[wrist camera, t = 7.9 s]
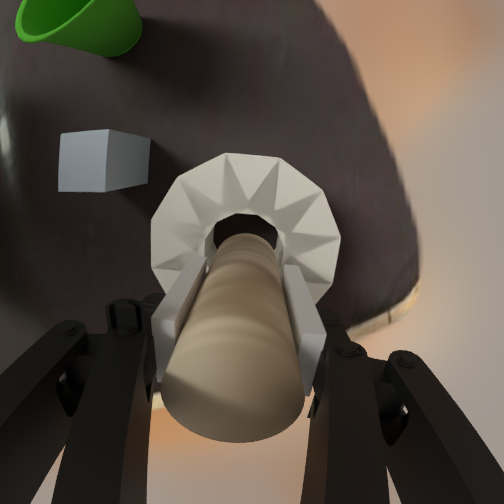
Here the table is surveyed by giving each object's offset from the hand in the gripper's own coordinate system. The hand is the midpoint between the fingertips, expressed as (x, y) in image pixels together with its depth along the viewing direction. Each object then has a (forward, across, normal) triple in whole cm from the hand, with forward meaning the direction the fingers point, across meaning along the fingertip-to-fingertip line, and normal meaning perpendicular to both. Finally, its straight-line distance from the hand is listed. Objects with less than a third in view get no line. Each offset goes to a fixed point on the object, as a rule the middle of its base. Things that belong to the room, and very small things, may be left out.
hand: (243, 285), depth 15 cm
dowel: (+4, 0, 0) cm, 4 cm away
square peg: (+11, -11, +6) cm, 17 cm away
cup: (+11, -14, +19) cm, 26 cm away
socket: (+11, 0, 0) cm, 11 cm away
